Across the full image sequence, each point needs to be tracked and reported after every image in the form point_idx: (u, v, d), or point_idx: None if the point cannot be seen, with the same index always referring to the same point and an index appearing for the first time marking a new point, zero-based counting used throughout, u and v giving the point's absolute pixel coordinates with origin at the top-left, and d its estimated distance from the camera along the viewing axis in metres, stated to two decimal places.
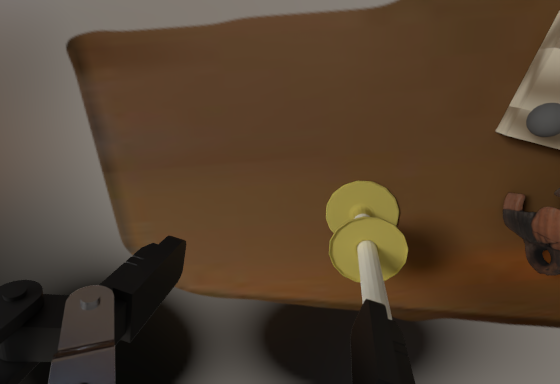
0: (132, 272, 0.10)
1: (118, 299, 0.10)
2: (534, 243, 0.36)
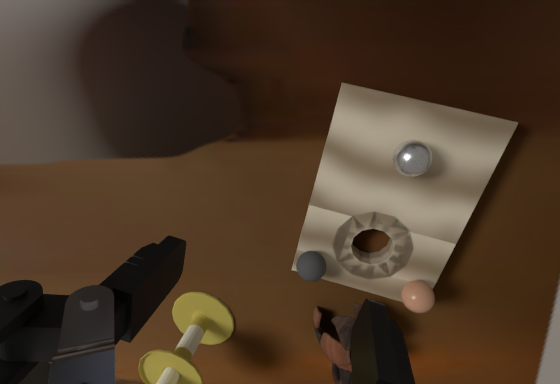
0: (132, 272, 0.10)
1: (118, 299, 0.10)
2: None
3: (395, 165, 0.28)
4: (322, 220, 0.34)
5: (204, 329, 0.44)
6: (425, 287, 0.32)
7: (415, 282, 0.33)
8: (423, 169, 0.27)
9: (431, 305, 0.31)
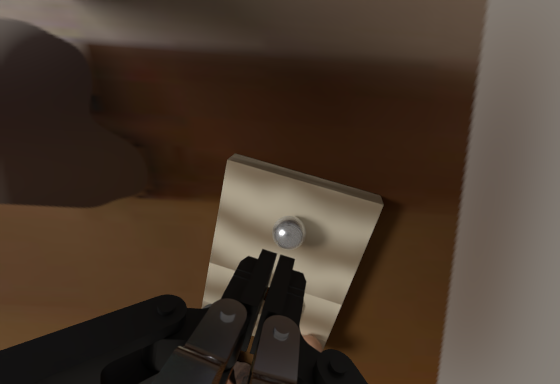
0: (248, 286, 0.11)
1: None
2: None
3: (273, 238, 0.30)
4: (222, 277, 0.36)
5: None
6: (312, 344, 0.34)
7: (305, 338, 0.35)
8: (294, 246, 0.29)
9: None
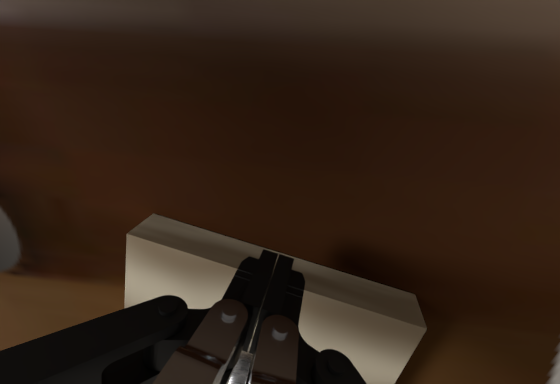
0: (249, 286, 0.11)
1: None
2: None
3: None
4: None
5: None
6: None
7: None
8: None
9: None
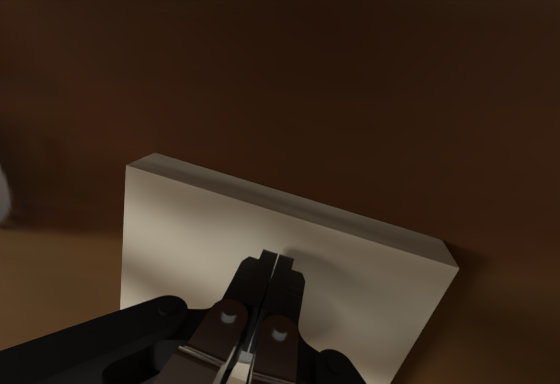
0: (249, 286, 0.11)
1: None
2: None
3: None
4: None
5: None
6: None
7: None
8: None
9: None
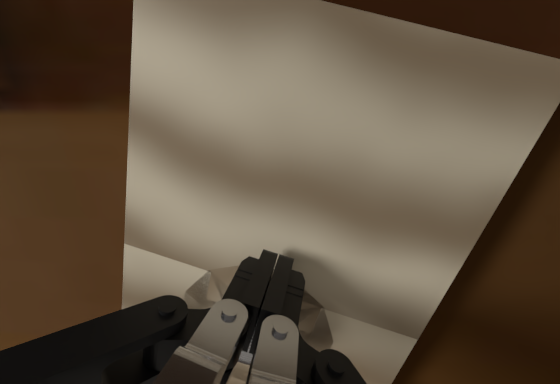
0: (249, 286, 0.11)
1: None
2: None
3: None
4: (154, 275, 0.17)
5: None
6: None
7: None
8: None
9: None
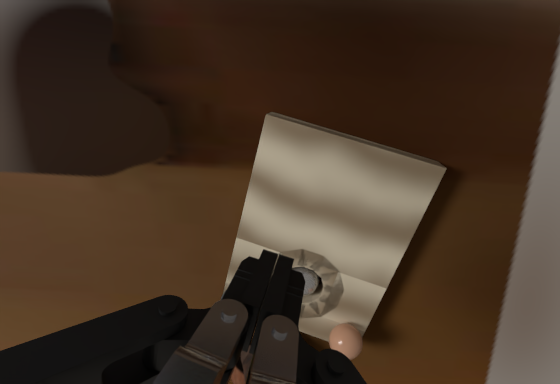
0: (249, 286, 0.11)
1: None
2: None
3: None
4: (250, 254, 0.32)
5: None
6: (352, 332, 0.30)
7: (343, 326, 0.31)
8: None
9: (356, 353, 0.30)
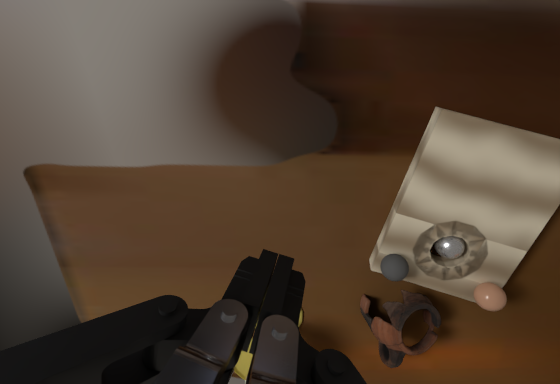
0: (249, 286, 0.11)
1: None
2: None
3: (436, 249, 0.38)
4: (406, 227, 0.38)
5: None
6: (498, 288, 0.36)
7: (488, 284, 0.37)
8: (457, 256, 0.37)
9: (504, 304, 0.36)
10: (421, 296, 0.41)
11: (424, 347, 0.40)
